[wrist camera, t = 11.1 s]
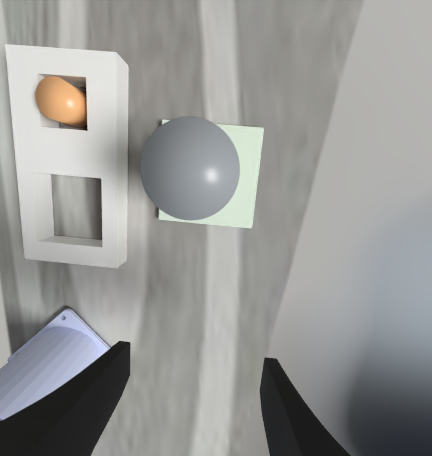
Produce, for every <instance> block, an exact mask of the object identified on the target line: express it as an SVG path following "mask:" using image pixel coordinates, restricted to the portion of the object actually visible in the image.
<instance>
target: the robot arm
mask: <svg viewBox="0 0 432 456" xmlns="http://www.w3.org/2000/svg"><path fill="white" fill-rule="evenodd" d="M64 316H65V317H66V318H65V317H64ZM129 376H130V342H124V341H119V342H117V343H116V344H115V345H114V346H112V347H111V348H110V347H109V346H108V345H107V344H106V343H105V342H104V341H103V340H102V339H101V338H100V337H99V336H98V335H97V334H96V333H95V332H94V331H93V330H92V329H91V328H90V327H89V326H88V325H87V324H86V323H85V322H84V321H83V320H82V319H81V318H80V317H79V316H78V315H77V314H76V313H75V312H74V311H73V310H71V309H69V308H67V309H65V310H64V311H63V312H61V313H60V314H59V315H58V316H57V317H56V318H54V319H53V320H52V321H51V322H50V323H49V324H47V325H46V326H45V327H44V328H43V329H42V330H40V331H39V332H38V333H37V334H36V335H35V336H33V337H32V338H31V339H30V340H29V341H28V342H26V343H25V344H24V345H23V346H22V347H21V348H19V349H18V350H17V351H16V352H15V353H14V354H12V355H11V356H10V357H9V358H8V363H7V364H6V365H5V366H4V367H2V368H1V369H0V456H91V454H92V452H93V450H94V447H95V445H96V444H97V442H98V440H99V438H100V436H101V434H102V432H103V430H104V428H105V427H106V425H107V423H108V421H109V419H110V417H111V415H112V413H113V411H114V409H115V408H116V406H117V404H118V402H119V400H120V398H121V396H122V393H123V391H124V389H125V386H126V384H127V381H128V378H129ZM260 398H261V409H262V416H263V421H264V427H265V432H266V438H267V443H268V448H269V453H270V456H350V455H349V454H348V453H347V452H346V450H345V449H344V448H343V447H342V446H341V445H340V444H338V442H337V441H336V440H335V439H334V438H333V437H332V436H331V434H330V433H329V432H328V431H327V430H326V429H325V428H324V426H323V425H322V424H321V423H320V421H319V420H318V419H317V418H316V416H315V415H314V414H313V412H312V411H311V410H310V408H309V407H308V406H307V404H306V403H305V402H304V400H303V399H302V398H301V396H300V395H299V393H298V392H297V390H296V389H295V387H294V386H293V384H292V383H291V381H290V380H289V378H288V377H287V375H286V374H285V372H284V370H283V368H282V367H281V365H280V363H279V362H278V360H277V359H274V358H265V359H264V365H263V372H262V378H261V385H260Z"/></svg>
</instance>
